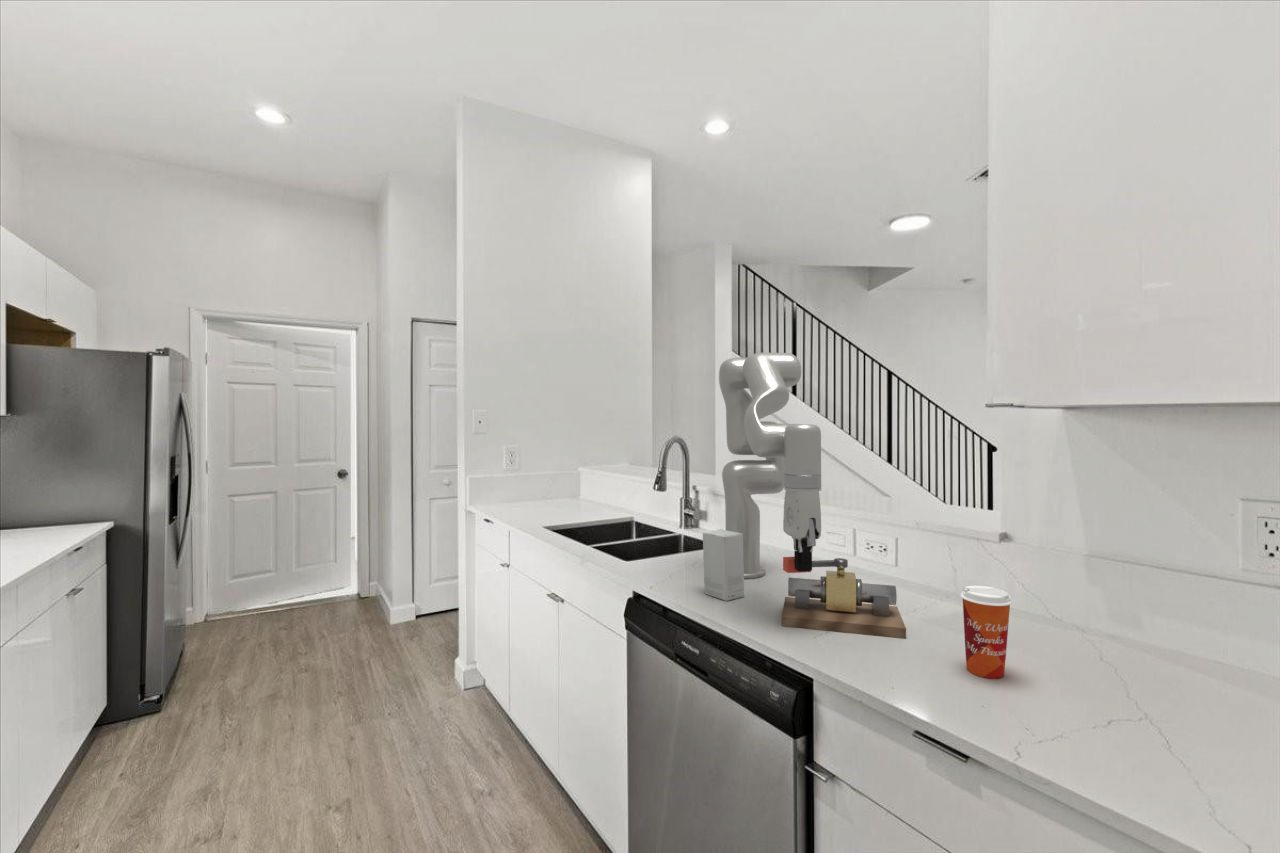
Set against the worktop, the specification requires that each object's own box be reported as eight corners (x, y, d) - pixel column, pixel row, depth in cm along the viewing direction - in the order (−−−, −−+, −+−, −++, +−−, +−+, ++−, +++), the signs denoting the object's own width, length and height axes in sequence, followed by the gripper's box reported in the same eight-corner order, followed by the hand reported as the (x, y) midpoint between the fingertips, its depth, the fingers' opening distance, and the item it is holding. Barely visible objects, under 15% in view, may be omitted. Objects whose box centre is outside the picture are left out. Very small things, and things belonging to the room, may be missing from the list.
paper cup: (963, 677, 100) (964, 595, 99) (956, 659, 107) (957, 582, 106) (1017, 684, 97) (1018, 600, 97) (1006, 666, 104) (1007, 587, 104)
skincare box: (745, 597, 143) (745, 533, 143) (724, 602, 140) (725, 536, 139) (721, 589, 150) (721, 528, 150) (701, 593, 147) (701, 530, 146)
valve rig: (781, 625, 124) (781, 573, 124) (785, 605, 137) (785, 558, 137) (905, 638, 117) (906, 583, 117) (896, 615, 130) (897, 565, 130)
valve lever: (843, 567, 130) (843, 554, 130) (850, 570, 127) (850, 557, 127) (782, 569, 128) (782, 556, 128) (787, 573, 125) (787, 560, 125)
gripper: (773, 480, 131) (774, 563, 131) (798, 486, 116) (799, 579, 116) (806, 479, 132) (806, 562, 132) (835, 486, 117) (835, 578, 117)
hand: (803, 570), depth 124 cm, fingers closed
